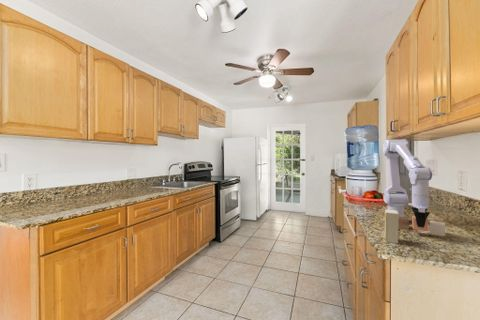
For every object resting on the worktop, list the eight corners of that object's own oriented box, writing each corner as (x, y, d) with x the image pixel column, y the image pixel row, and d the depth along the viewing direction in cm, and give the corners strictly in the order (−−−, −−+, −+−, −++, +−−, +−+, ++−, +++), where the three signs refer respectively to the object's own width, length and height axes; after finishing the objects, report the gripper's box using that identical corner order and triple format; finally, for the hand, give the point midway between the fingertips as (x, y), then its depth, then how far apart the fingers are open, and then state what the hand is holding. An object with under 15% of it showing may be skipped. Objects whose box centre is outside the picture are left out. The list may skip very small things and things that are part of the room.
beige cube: (430, 231, 100) (430, 220, 100) (444, 233, 97) (444, 222, 97) (429, 234, 96) (429, 223, 96) (445, 236, 93) (445, 225, 93)
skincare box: (384, 237, 93) (384, 209, 93) (397, 239, 91) (397, 210, 91) (385, 242, 88) (385, 212, 87) (398, 244, 85) (398, 213, 85)
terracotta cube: (412, 226, 99) (412, 215, 99) (426, 228, 96) (426, 217, 96) (413, 229, 95) (413, 217, 95) (428, 231, 92) (428, 219, 92)
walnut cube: (393, 225, 109) (393, 215, 109) (405, 226, 107) (405, 216, 107) (396, 228, 104) (395, 218, 104) (408, 229, 102) (408, 219, 102)
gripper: (407, 191, 104) (407, 219, 104) (409, 196, 92) (409, 228, 92) (426, 193, 100) (426, 222, 100) (431, 197, 88) (431, 231, 88)
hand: (419, 225), depth 95 cm, fingers closed on terracotta cube, 5 cm apart
